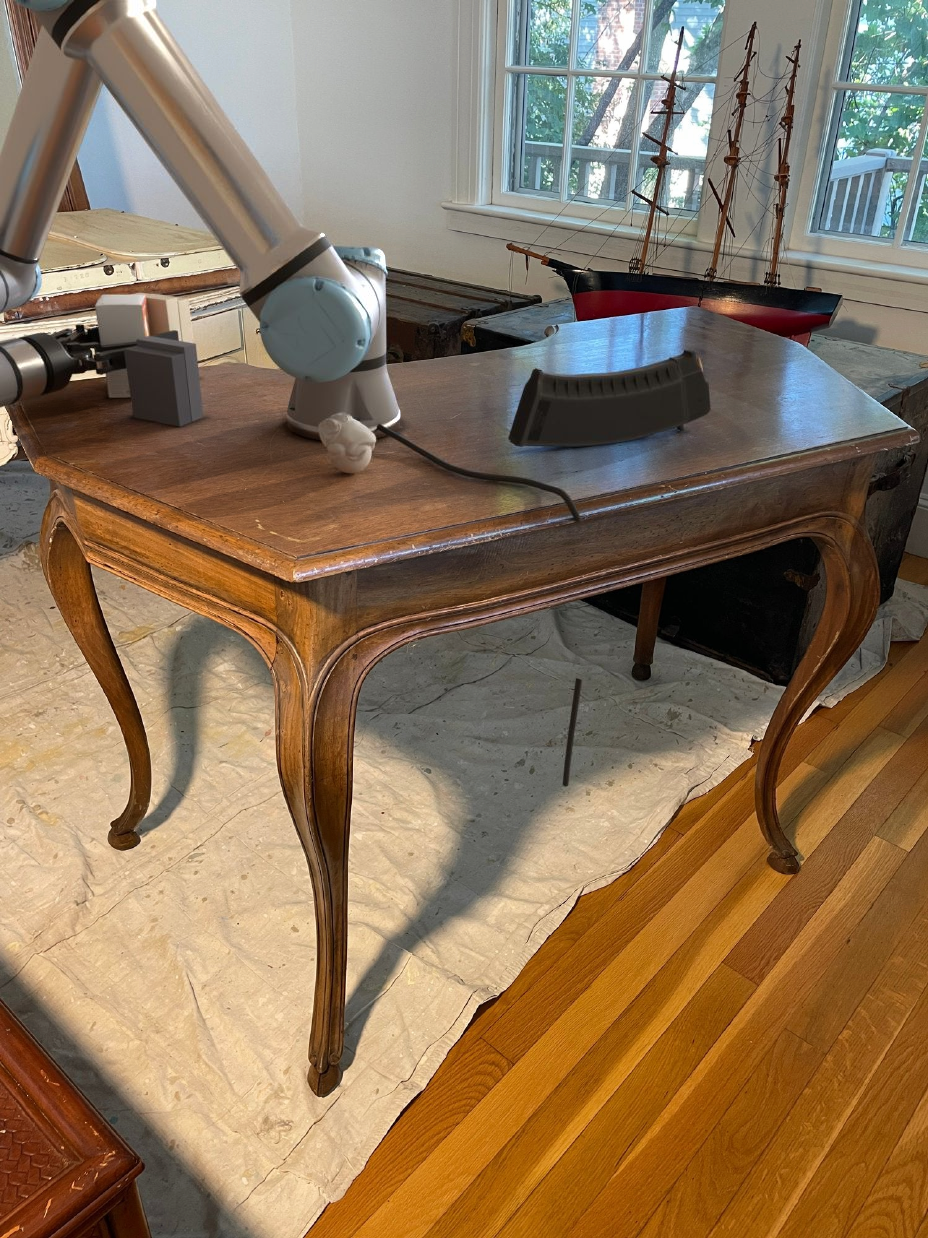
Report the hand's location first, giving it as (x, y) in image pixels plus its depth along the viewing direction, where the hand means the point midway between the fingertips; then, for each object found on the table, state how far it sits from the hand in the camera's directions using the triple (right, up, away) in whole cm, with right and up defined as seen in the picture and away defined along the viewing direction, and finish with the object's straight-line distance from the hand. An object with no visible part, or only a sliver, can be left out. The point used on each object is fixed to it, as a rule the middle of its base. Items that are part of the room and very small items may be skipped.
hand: (149, 335), depth 136 cm
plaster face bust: (+33, -25, -26) cm, 49 cm away
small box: (-2, -8, 0) cm, 9 cm away
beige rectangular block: (+1, -5, +6) cm, 8 cm away
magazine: (+67, -18, -12) cm, 70 cm away
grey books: (+6, -15, -11) cm, 19 cm away
